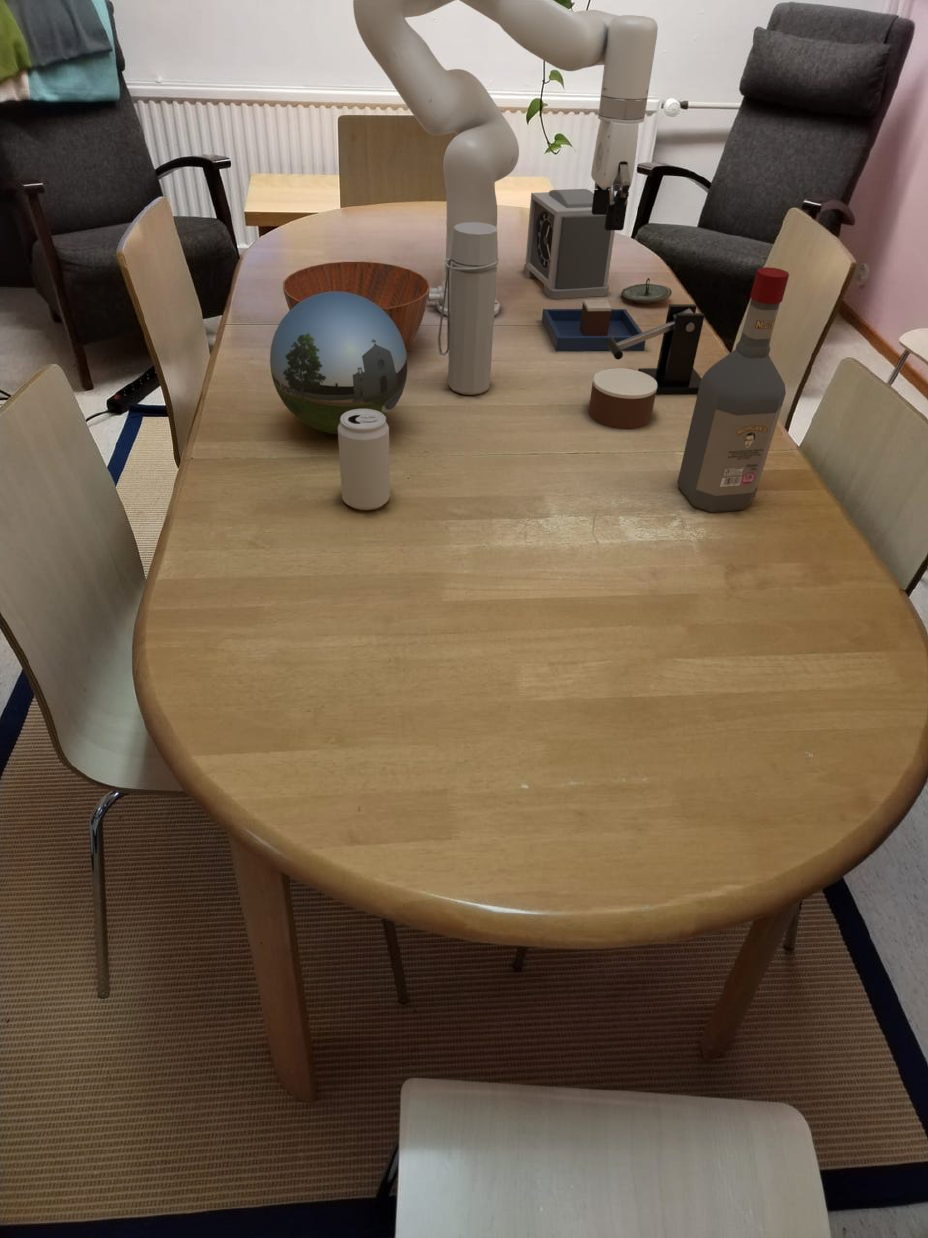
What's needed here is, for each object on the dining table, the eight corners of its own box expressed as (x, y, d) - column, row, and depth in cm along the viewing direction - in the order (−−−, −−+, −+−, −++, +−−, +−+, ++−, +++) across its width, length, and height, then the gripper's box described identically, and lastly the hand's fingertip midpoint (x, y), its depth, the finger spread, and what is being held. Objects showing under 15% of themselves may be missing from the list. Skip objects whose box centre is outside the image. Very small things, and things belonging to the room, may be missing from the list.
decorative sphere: (428, 444, 125) (430, 309, 112) (301, 470, 118) (287, 329, 105) (379, 391, 138) (375, 265, 126) (261, 411, 131) (245, 279, 118)
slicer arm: (616, 363, 138) (612, 350, 137) (607, 349, 143) (604, 336, 141) (699, 330, 136) (697, 317, 135) (688, 317, 141) (685, 303, 139)
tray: (556, 351, 154) (557, 337, 153) (541, 321, 165) (542, 308, 164) (643, 350, 156) (646, 337, 155) (623, 321, 167) (625, 308, 166)
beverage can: (342, 488, 115) (337, 406, 107) (390, 487, 115) (388, 406, 108) (341, 513, 110) (335, 429, 102) (390, 513, 110) (389, 429, 103)
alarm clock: (522, 270, 189) (529, 180, 177) (576, 267, 192) (587, 179, 180) (551, 299, 175) (560, 203, 164) (609, 295, 179) (623, 201, 167)
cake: (596, 429, 131) (601, 395, 127) (582, 400, 139) (586, 368, 135) (658, 428, 132) (665, 394, 129) (641, 400, 140) (647, 367, 136)
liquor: (759, 509, 115) (829, 283, 95) (697, 515, 113) (755, 286, 94) (729, 476, 121) (789, 258, 102) (670, 480, 120) (719, 260, 101)
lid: (674, 314, 175) (684, 290, 173) (634, 306, 171) (644, 280, 169) (649, 299, 183) (658, 276, 181) (611, 291, 179) (620, 266, 176)
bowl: (454, 362, 149) (457, 296, 141) (323, 389, 138) (318, 320, 131) (390, 315, 165) (388, 254, 157) (267, 336, 154) (260, 272, 147)
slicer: (649, 394, 141) (664, 318, 133) (636, 374, 148) (650, 300, 139) (707, 393, 143) (724, 318, 134) (691, 374, 149) (708, 300, 140)
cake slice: (584, 337, 159) (588, 307, 155) (579, 328, 162) (583, 299, 158) (607, 337, 159) (611, 307, 155) (601, 328, 162) (605, 299, 159)
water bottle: (496, 382, 143) (507, 224, 127) (482, 400, 137) (491, 238, 121) (445, 373, 145) (449, 216, 129) (429, 391, 139) (431, 230, 123)
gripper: (587, 99, 143) (575, 208, 154) (612, 118, 130) (597, 236, 141) (630, 100, 144) (615, 208, 155) (660, 119, 131) (640, 236, 142)
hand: (606, 221), depth 148 cm, fingers open, 9 cm apart
